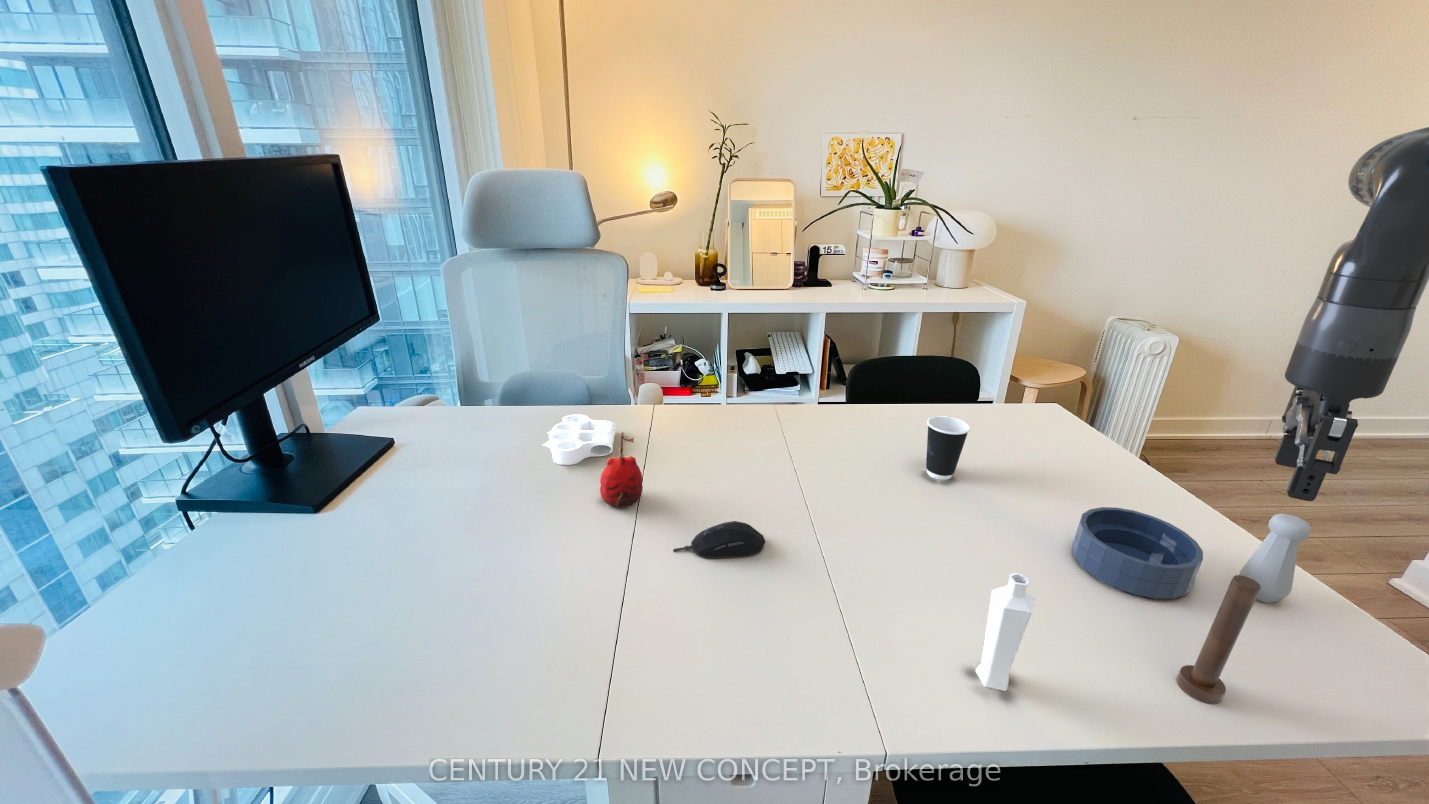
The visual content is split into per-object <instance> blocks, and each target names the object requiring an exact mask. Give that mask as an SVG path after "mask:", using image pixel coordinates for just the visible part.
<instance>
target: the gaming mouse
mask: <svg viewBox="0 0 1429 804" xmlns="http://www.w3.org/2000/svg"><path fill="white" fill-rule="evenodd" d="M765 544H766V539H765V536H764V534H763V533H761V532H760V531H758V530H757V529H756V528H754V527H753V526H752V525H750V524H749V523H746V522H741V521H737V520H733V521H726V522H721V523H718V524H715V525H713V526H711V527H708V528H706V529H704V530H702V531H700V532H699V533H697V534H696V535H695V536H694V537H693V539H692V541H691V542H690V545H684V546H683V547H678V548H677V547H676V548H673V549H672V550H673V552H679V551H689V550H693V552H695V553H696V555H698V556H699V557H703V558H706V559H715V558H717V559H719V558H735V557H736V558H737V557H738V558H739V557H748V556H751V555H755V554H758V553H759V552H760V551H762V549H763V548H764V545H765Z"/></svg>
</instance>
